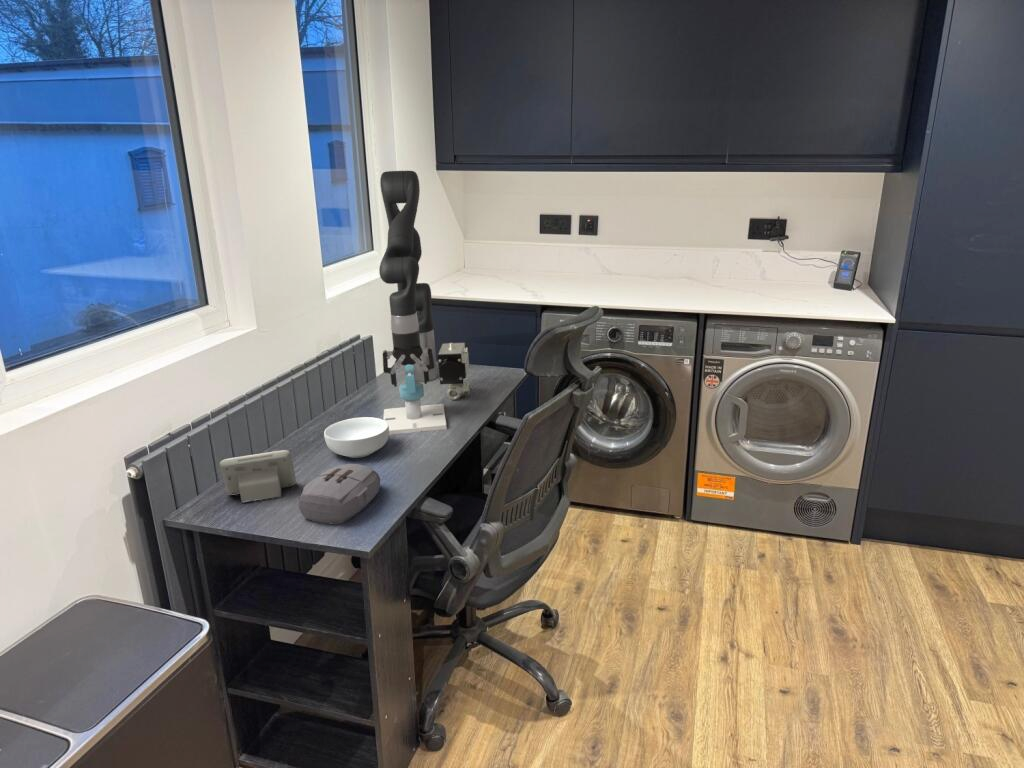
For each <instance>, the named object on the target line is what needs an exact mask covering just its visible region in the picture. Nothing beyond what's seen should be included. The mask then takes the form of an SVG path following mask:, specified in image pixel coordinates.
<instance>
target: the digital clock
mask: <svg viewBox="0 0 1024 768" xmlns="http://www.w3.org/2000/svg"><path fill="white" fill-rule="evenodd" d="M219 467H220V468H219V469H220V473H221V476H222V478H223V483H224V486H225V489H226V490H225V491H226V493H227V494H228V495H229V494H237V493H240V495H239V496H240V500H241V502H242V501H246V500H254V499H263V498H270V497H271V498H272V497H278V498H281V497H282V489H284V488H288V487H292V486H294V485H296V482H297V477H296V473H295V472H296V471H295V467H294V462H293V457H292V453H291V451H289V450H287V449H286V450H285V449H282V450H274V451H270V452H268V451H267V452H262V453H255V454H248V455H242V456H237V457H236V456H235V457H229V458H225V459H223V460H220V461H219ZM272 499H273V498H272Z"/></svg>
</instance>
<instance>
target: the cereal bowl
mask: <svg viewBox="0 0 1024 768" xmlns="http://www.w3.org/2000/svg"><path fill="white" fill-rule="evenodd" d="M323 436H324V440H325V444H326V445H327V448H328V449H330V450H331V451H332V452H333V453H334V454H336V455H340V456H344V457H347V458H350V459H361V458H364V457H365V458H366V457H368V456H370V455H372V454H373V453H374V452H376V451H379V449H381V448H383V446H385V444H386V443H387V441H388V439H389V436H390V435H389V425H388V423H387V422H386V421H385V420H383V419H382V418H379V417H372V416H371V417H369V416H365V417H364V416H361V417H352V418H348V419H343V420H341V421H336V422H335V423H332V424H330V425H329V426H328V427H326V428H325V430H324V432H323Z"/></svg>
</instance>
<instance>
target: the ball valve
mask: <svg viewBox="0 0 1024 768" xmlns="http://www.w3.org/2000/svg"><path fill="white" fill-rule="evenodd" d="M469 356H470V355H469V348H468V347H466V342H464V341H463V342H461V341H459V342H442V344H441V347H440V349H439V351H438V354H437V363H438V374H439V376H438V377H439V384H440V385H448V387H447V388H446V395H447V398H449V399H450V400H454V401H456V400H458V399H460V397H466V396H470V393H471V392H470V390H471V389H470V387H471V386H470V382H465V379H466V378H467V376H468V371H469V368H470V358H469Z"/></svg>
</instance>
